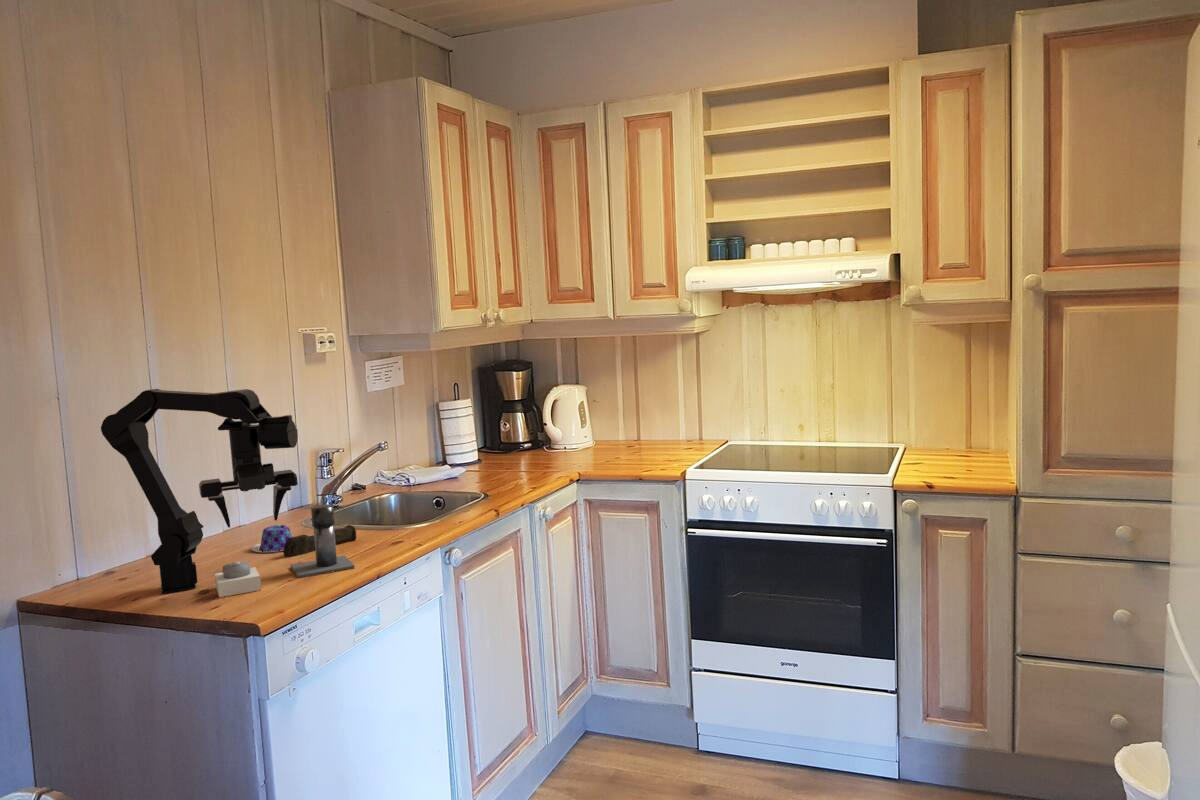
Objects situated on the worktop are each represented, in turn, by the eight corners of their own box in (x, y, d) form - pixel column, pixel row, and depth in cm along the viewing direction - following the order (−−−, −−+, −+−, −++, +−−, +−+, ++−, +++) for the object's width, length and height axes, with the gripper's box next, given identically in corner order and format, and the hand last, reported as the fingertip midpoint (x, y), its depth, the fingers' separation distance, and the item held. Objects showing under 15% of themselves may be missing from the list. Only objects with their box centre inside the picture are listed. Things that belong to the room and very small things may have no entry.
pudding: (287, 555, 213) (285, 533, 213) (241, 555, 215) (239, 533, 215) (312, 541, 225) (310, 521, 224) (268, 541, 227) (266, 521, 226)
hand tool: (349, 539, 225) (347, 521, 225) (357, 541, 223) (356, 523, 222) (278, 557, 211) (276, 538, 211) (287, 559, 209) (285, 540, 208)
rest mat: (298, 578, 192) (297, 575, 192) (290, 567, 201) (290, 564, 201) (354, 568, 197) (354, 565, 197) (345, 558, 206) (345, 555, 206)
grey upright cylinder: (322, 568, 196) (318, 510, 195) (311, 565, 199) (306, 507, 198) (342, 563, 200) (337, 506, 198) (330, 560, 203) (326, 503, 202)
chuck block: (219, 597, 181) (216, 570, 181) (216, 587, 188) (213, 561, 188) (261, 589, 185) (258, 563, 184) (256, 580, 192) (254, 555, 191)
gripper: (199, 460, 175) (207, 538, 176) (298, 449, 183) (305, 523, 185) (195, 454, 185) (203, 528, 186) (290, 443, 193) (296, 514, 195)
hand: (252, 523), depth 188 cm, fingers open, 9 cm apart
